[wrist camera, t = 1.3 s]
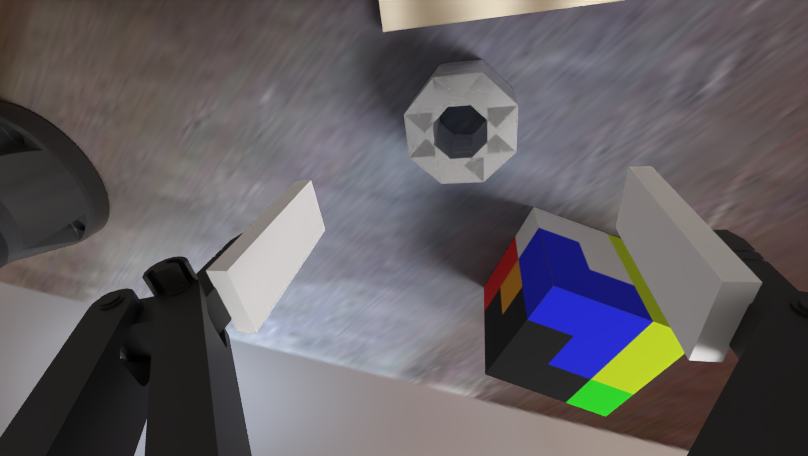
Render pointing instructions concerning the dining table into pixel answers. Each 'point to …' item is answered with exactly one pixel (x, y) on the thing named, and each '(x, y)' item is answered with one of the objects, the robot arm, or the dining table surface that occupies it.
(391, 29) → the carrier
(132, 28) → the dining table surface
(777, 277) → the robot arm
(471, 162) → the octagonal tube
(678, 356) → the puzzle toy
